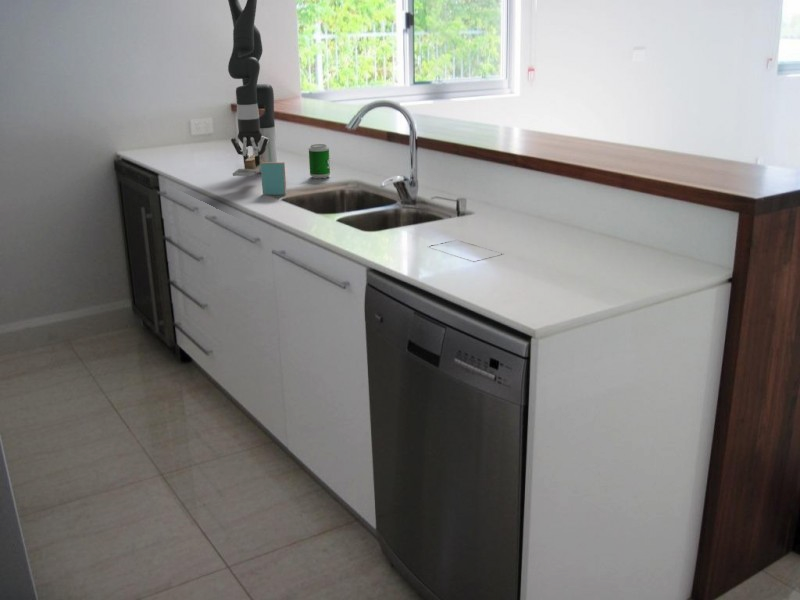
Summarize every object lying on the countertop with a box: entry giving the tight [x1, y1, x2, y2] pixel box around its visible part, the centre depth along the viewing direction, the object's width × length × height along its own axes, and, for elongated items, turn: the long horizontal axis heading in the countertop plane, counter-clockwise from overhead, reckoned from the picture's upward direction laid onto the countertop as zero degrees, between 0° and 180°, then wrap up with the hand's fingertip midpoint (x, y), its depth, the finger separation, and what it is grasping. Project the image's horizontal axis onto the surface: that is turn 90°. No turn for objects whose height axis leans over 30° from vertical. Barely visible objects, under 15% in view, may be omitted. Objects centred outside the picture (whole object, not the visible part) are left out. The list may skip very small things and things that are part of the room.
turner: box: [232, 153, 263, 177], centre depth 280 cm, size 22×7×4 cm, turn 175°
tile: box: [260, 161, 287, 196], centre depth 269 cm, size 2×8×11 cm, turn 85°
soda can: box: [308, 143, 331, 179], centre depth 297 cm, size 8×8×12 cm
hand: (252, 165), depth 282 cm, fingers closed on turner, 3 cm apart
